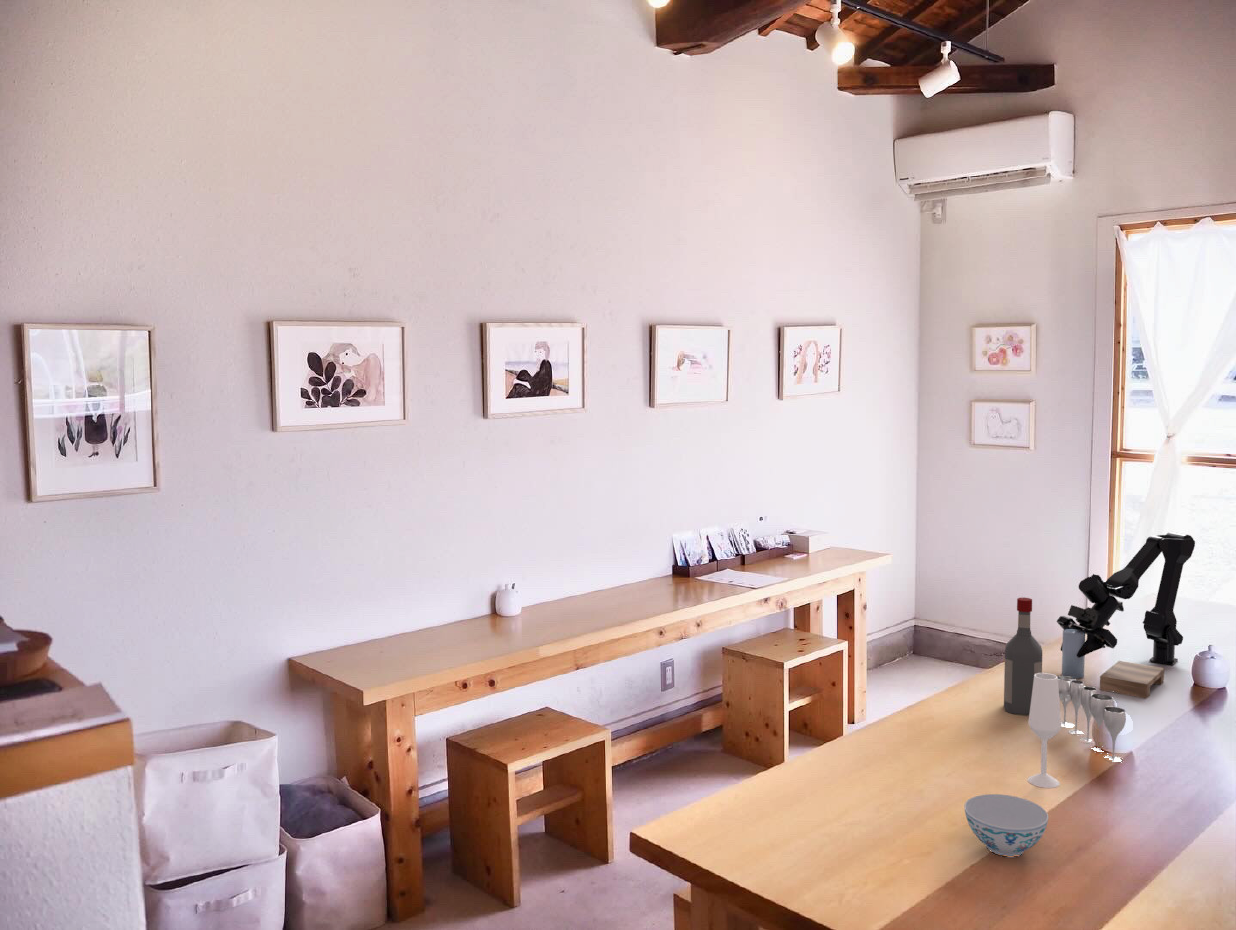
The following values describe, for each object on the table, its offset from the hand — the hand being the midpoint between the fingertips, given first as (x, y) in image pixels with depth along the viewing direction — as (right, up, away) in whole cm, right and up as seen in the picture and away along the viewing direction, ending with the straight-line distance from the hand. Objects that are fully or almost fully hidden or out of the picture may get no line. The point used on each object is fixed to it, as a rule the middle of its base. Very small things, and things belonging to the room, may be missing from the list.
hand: (1069, 653), depth 298 cm
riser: (+14, -7, -9) cm, 18 cm away
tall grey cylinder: (+2, -7, +1) cm, 7 cm away
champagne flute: (-37, -15, -72) cm, 83 cm away
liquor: (-24, -10, -27) cm, 37 cm away
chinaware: (-57, -19, -102) cm, 119 cm away
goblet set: (-17, -12, -49) cm, 53 cm away
